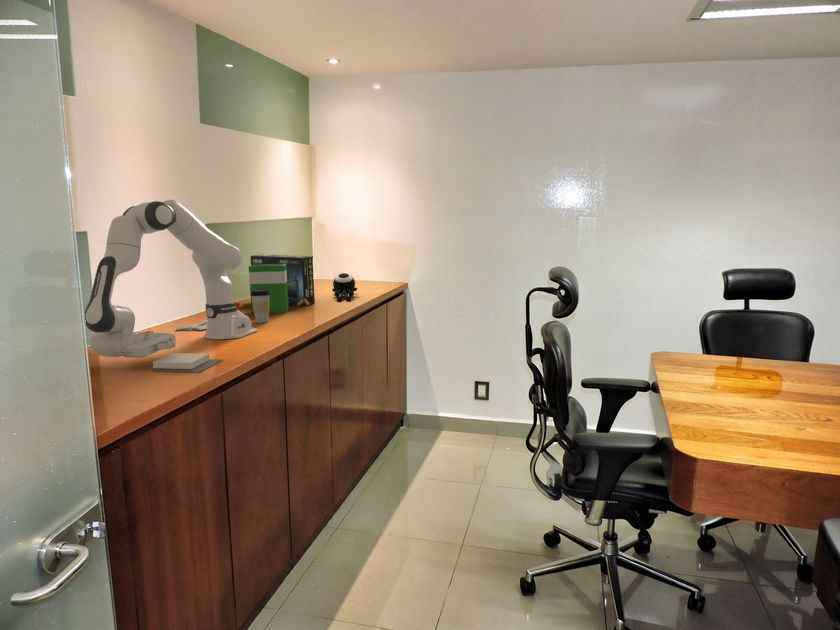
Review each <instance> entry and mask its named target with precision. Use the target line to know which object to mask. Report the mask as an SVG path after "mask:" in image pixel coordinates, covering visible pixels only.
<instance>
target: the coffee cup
mask: <svg viewBox="0 0 840 630" xmlns="http://www.w3.org/2000/svg"><path fill="white" fill-rule="evenodd" d="M270 294H271V292H269V290H268V289H257V290H252V293H249V295H250V297H251V296H252V303H253V309H254V313H253V314H254V317H255V323H257V324H264V323H269V320H270V313H269V308H270V300H269V299H270Z"/></svg>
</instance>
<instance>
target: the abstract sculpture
mask: <svg viewBox="0 0 840 630" xmlns="http://www.w3.org/2000/svg"><path fill="white" fill-rule="evenodd" d="M332 286H333V287H332V289H331V291H332V292H333V295H334V297H335V298H336V302H338V303H341V302H342V301H343V296H345V301H346V302H350V303H351V301H352V297H353V296H355V292H357V291H358V288H357V287H356V281H355V278H354V277H353V276H352V275H351V274H349V273H345V272H344V273H343V272H342V273H339V274H337V275H336V276H335V277H334V278H333V283H332Z"/></svg>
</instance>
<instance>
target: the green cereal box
mask: <svg viewBox="0 0 840 630" xmlns="http://www.w3.org/2000/svg"><path fill="white" fill-rule="evenodd" d="M248 277H249V291H250V293H252V290H257V289H268V290H269V292H271V294H270V299H269V300H270V308H269V314H272V313H274V314H275V313H288V311H289V310H290V309H289V306H290V305H288V287H287V270H286V264H264V265H251V264H250V265H248ZM250 293H249V294H250ZM250 309H251V310H250V311H251V314H255V313H254V309H253V303H252V296H251V295H250Z"/></svg>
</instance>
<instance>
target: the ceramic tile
mask: <svg viewBox="0 0 840 630" xmlns="http://www.w3.org/2000/svg"><path fill="white" fill-rule="evenodd" d="M209 359H210V353H194V352H193V353H186V352H182V353H181V352H171V353H170V354H169V353H168V354H167V355H164V356H163V357H160V358H158V359H156V360H153V361H152V369H193V368H195V367H197V366H199V365H201V364H203V363H205V362H207V361H208V360H209Z"/></svg>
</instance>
